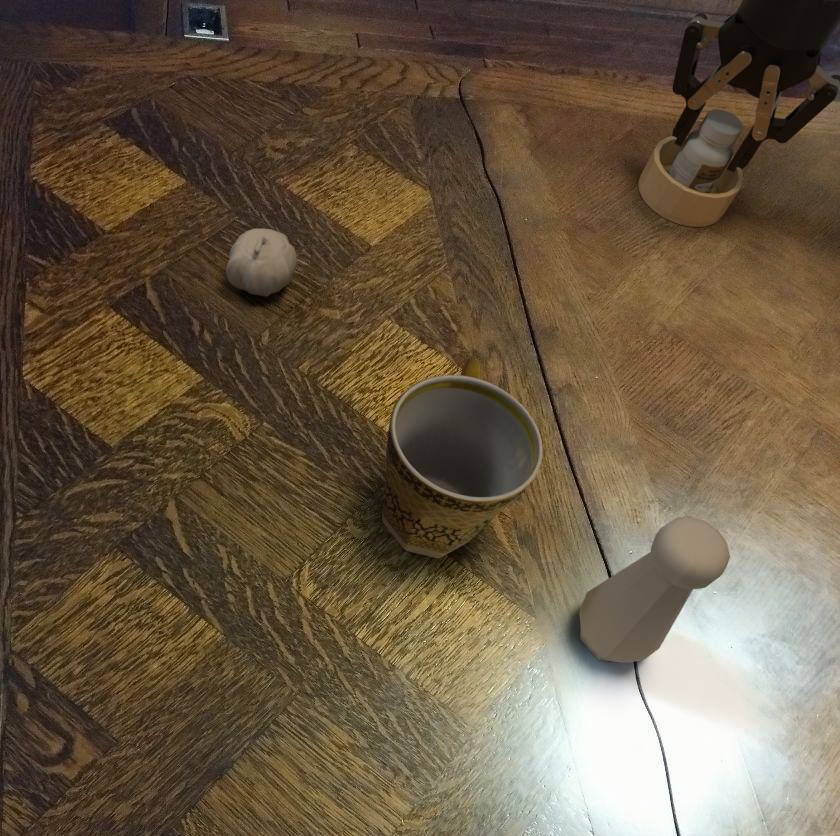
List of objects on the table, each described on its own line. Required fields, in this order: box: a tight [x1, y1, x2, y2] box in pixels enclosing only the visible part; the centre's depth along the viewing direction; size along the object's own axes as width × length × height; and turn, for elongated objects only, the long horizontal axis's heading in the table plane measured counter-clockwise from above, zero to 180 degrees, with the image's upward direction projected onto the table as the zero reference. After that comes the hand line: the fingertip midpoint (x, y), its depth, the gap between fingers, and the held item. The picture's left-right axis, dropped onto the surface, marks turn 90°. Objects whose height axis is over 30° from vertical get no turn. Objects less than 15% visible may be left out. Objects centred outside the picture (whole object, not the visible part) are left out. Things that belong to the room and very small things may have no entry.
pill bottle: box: [668, 108, 744, 193], centre depth 91 cm, size 4×4×8 cm
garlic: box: [225, 227, 298, 297], centre depth 78 cm, size 6×5×5 cm
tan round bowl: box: [637, 135, 744, 228], centre depth 93 cm, size 9×9×4 cm
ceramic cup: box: [381, 357, 543, 559], centre depth 68 cm, size 13×10×10 cm
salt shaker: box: [578, 515, 731, 664], centre depth 63 cm, size 6×6×13 cm
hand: (706, 153), depth 91 cm, fingers open, 4 cm apart
